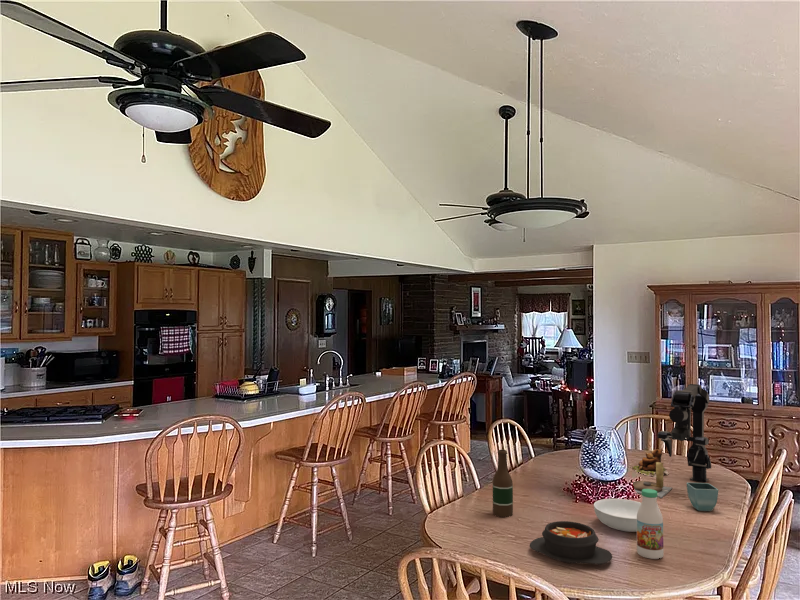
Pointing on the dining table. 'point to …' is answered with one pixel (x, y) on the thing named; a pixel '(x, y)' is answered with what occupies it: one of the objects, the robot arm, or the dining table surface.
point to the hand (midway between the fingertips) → (682, 458)
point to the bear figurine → (650, 463)
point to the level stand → (659, 494)
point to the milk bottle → (649, 526)
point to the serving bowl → (618, 513)
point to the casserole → (570, 543)
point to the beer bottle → (502, 488)
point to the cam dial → (652, 485)
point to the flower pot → (702, 496)
